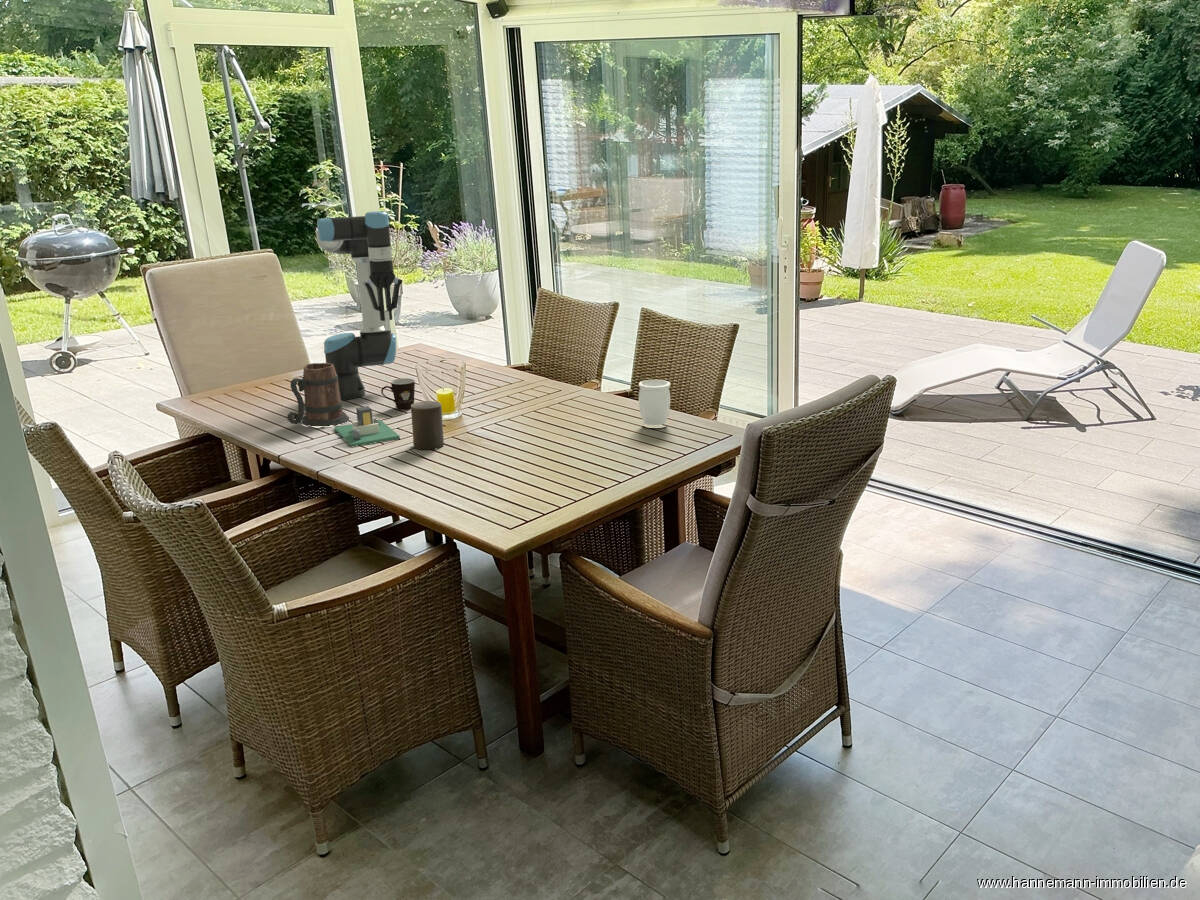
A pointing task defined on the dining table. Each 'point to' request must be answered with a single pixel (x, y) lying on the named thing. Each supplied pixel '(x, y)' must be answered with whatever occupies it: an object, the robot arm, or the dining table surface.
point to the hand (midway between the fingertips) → (387, 329)
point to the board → (366, 433)
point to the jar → (654, 401)
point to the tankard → (318, 397)
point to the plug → (364, 416)
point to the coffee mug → (402, 392)
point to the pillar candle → (427, 425)
